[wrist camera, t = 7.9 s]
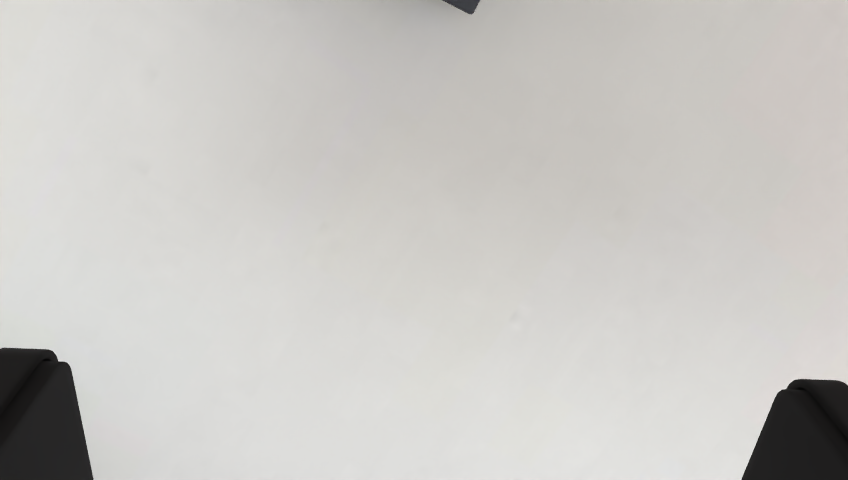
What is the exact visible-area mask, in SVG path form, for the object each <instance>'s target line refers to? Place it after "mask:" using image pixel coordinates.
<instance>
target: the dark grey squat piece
mask: <svg viewBox="0 0 848 480" xmlns="http://www.w3.org/2000/svg"><path fill="white" fill-rule="evenodd" d="M443 1H445V2H447V3H449V4H451V5H453V6H454V7H456V8H458V9H460V10H462V11H464V12H466V13H468V14H473V13H474V11H475V9H476V7H477V5H478V3H479V1H480V0H443Z"/></svg>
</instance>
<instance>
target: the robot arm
mask: <svg viewBox="0 0 848 480" xmlns="http://www.w3.org/2000/svg"><path fill="white" fill-rule="evenodd" d="M0 480H93V475H92V470H91V465H90V460H89V455H88V450H87V445H86V440H85V436H84V431H83V426H82V421H81V416H80V411H79V406H78V401H77V396H76V391H75V386H74V381H73V376H72V371H71V368H70V366H69V364H68V363H66V362H58V359H57V356H56V355H55V353H54V352H53V351H51V350H46V349H21V348H2V349H0ZM742 480H848V385H847V384H845V383H844V382H841V381H836V380H811V379H798V380H794V381H793V382H791V383H790V384H789V386H788V387H787V389H785V390H781V391H780V392H778V394H777V395H776V397H775V399H774V402H773V404H772V407H771V409H770V411H769V414H768V416H767V419H766V421H765V424H764V426H763V429H762V431H761V433H760V436H759V438H758V441H757V443H756V446H755V448H754V450H753V453H752V455H751V458H750V460H749V463H748V465H747V467H746V470H745V472H744V475H743V477H742Z"/></svg>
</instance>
